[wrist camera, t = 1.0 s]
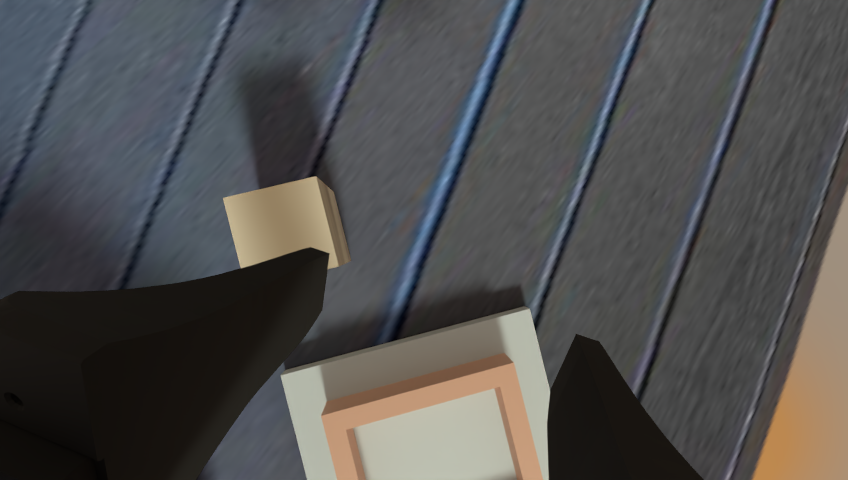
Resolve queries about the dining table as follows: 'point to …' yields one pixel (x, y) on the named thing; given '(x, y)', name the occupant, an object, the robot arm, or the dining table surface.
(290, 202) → the maple peg
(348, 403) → the collar board
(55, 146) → the dining table surface
